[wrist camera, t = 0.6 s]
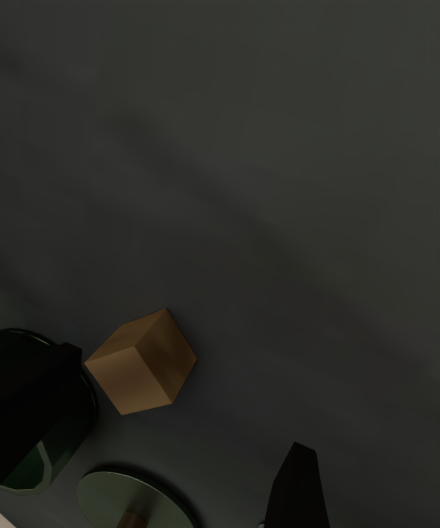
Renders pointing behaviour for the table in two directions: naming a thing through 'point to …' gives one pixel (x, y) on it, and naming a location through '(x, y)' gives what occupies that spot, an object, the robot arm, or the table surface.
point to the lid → (129, 501)
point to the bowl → (61, 434)
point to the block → (143, 363)
